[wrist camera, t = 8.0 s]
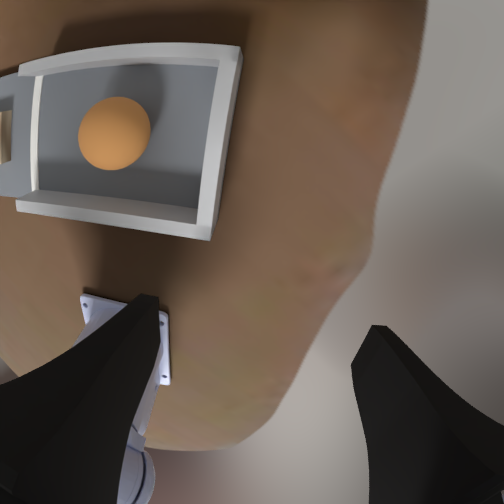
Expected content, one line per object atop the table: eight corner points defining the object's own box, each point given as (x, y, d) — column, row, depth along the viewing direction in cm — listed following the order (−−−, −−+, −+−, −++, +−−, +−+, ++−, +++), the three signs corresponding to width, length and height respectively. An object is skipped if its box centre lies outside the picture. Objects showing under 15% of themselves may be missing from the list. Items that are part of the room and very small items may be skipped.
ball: (156, 165, 16) (130, 180, 12) (98, 161, 15) (63, 175, 12) (164, 98, 14) (139, 94, 10) (103, 98, 14) (67, 97, 10)
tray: (218, 219, 18) (209, 241, 15) (-12, 191, 17) (-35, 203, 14) (243, 59, 13) (239, 46, 11) (-11, 82, 12) (-36, 86, 9)
